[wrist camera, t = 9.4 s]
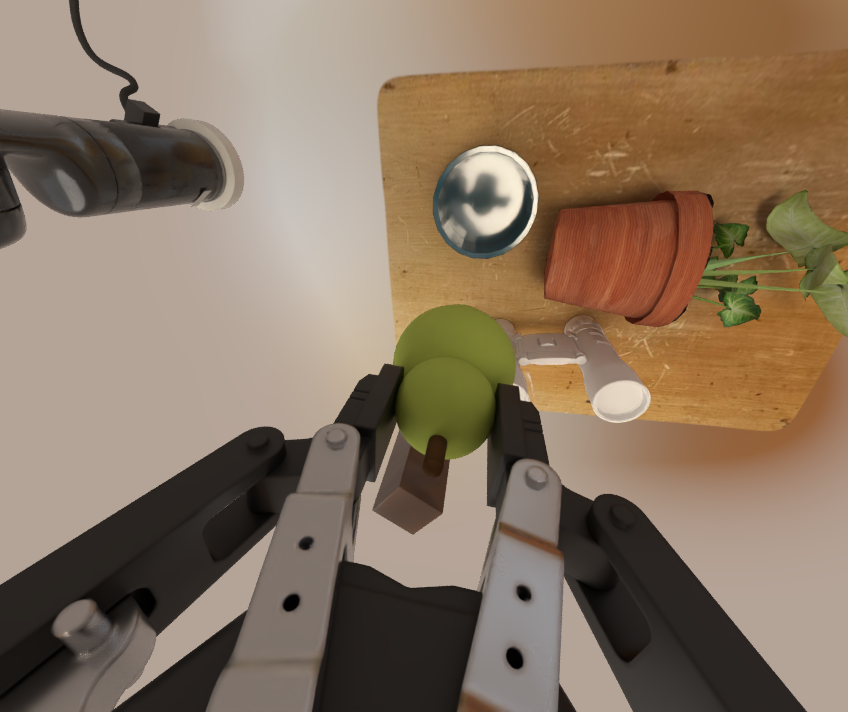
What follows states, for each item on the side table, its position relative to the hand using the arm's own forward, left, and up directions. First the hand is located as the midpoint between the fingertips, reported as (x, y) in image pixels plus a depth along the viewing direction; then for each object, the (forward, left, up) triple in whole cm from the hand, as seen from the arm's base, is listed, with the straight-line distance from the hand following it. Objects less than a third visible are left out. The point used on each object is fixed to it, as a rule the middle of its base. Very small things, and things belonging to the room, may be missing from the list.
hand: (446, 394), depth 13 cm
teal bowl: (-2, +3, -38) cm, 39 cm away
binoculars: (+17, -6, -38) cm, 42 cm away
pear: (0, 0, -5) cm, 5 cm away
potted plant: (+22, +14, -38) cm, 46 cm away
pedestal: (+9, -21, -38) cm, 45 cm away
